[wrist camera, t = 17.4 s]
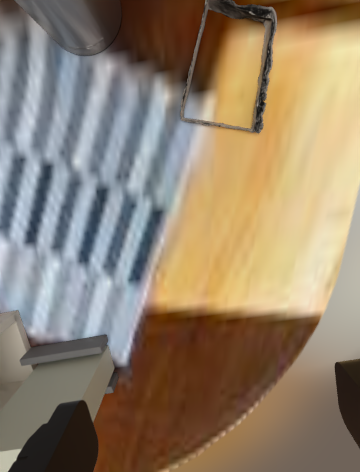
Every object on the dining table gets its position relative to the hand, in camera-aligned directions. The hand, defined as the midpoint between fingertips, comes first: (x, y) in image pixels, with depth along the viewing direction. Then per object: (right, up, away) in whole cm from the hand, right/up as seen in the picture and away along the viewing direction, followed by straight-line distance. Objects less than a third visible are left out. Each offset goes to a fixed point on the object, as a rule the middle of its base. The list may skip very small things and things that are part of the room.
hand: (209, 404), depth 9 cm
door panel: (-16, -14, +34) cm, 41 cm away
